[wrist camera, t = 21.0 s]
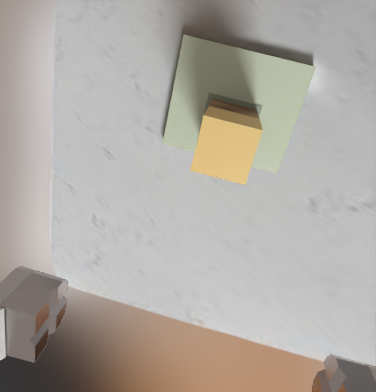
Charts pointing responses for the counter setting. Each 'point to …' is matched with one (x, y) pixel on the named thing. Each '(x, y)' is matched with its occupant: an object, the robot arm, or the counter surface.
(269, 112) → the plate
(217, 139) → the ochre block
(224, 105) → the walnut block
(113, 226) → the counter surface
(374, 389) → the robot arm
